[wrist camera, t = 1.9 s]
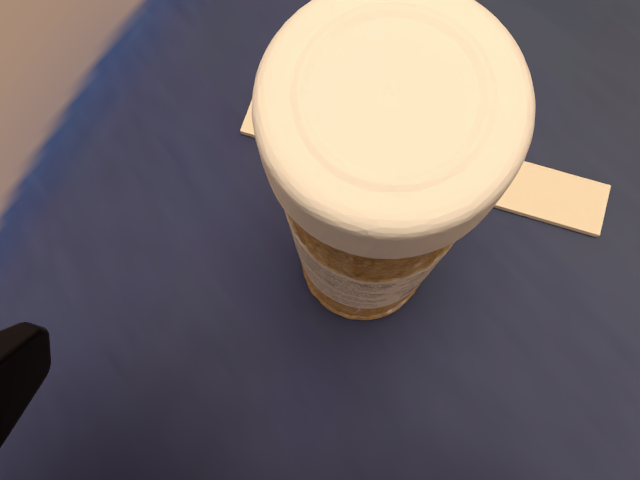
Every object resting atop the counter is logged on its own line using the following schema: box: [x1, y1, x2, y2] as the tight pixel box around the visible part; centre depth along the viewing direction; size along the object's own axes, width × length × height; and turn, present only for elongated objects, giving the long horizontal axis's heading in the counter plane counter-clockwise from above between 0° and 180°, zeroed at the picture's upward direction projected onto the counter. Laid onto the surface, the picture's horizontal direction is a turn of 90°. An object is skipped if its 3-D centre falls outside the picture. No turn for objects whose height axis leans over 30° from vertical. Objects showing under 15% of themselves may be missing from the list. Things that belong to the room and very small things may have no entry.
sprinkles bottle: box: [252, 0, 535, 320], centre depth 16 cm, size 5×5×13 cm
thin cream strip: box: [240, 101, 611, 237], centre depth 23 cm, size 2×14×1 cm, turn 72°
